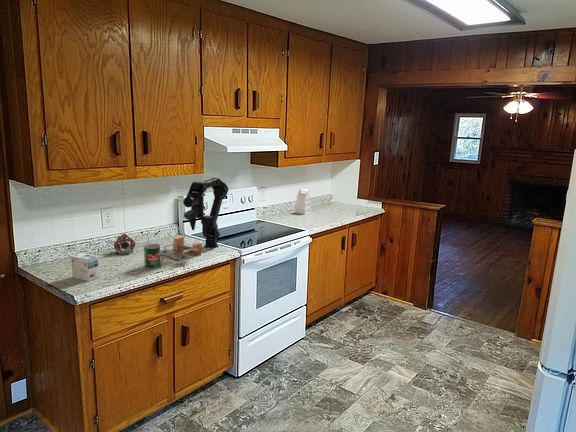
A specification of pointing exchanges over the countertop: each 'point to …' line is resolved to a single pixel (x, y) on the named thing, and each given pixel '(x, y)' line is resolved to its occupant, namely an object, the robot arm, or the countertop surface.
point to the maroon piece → (124, 245)
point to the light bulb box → (85, 266)
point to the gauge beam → (190, 249)
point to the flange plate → (174, 255)
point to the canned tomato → (152, 256)
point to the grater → (302, 203)
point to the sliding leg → (176, 243)
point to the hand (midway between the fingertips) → (198, 231)
